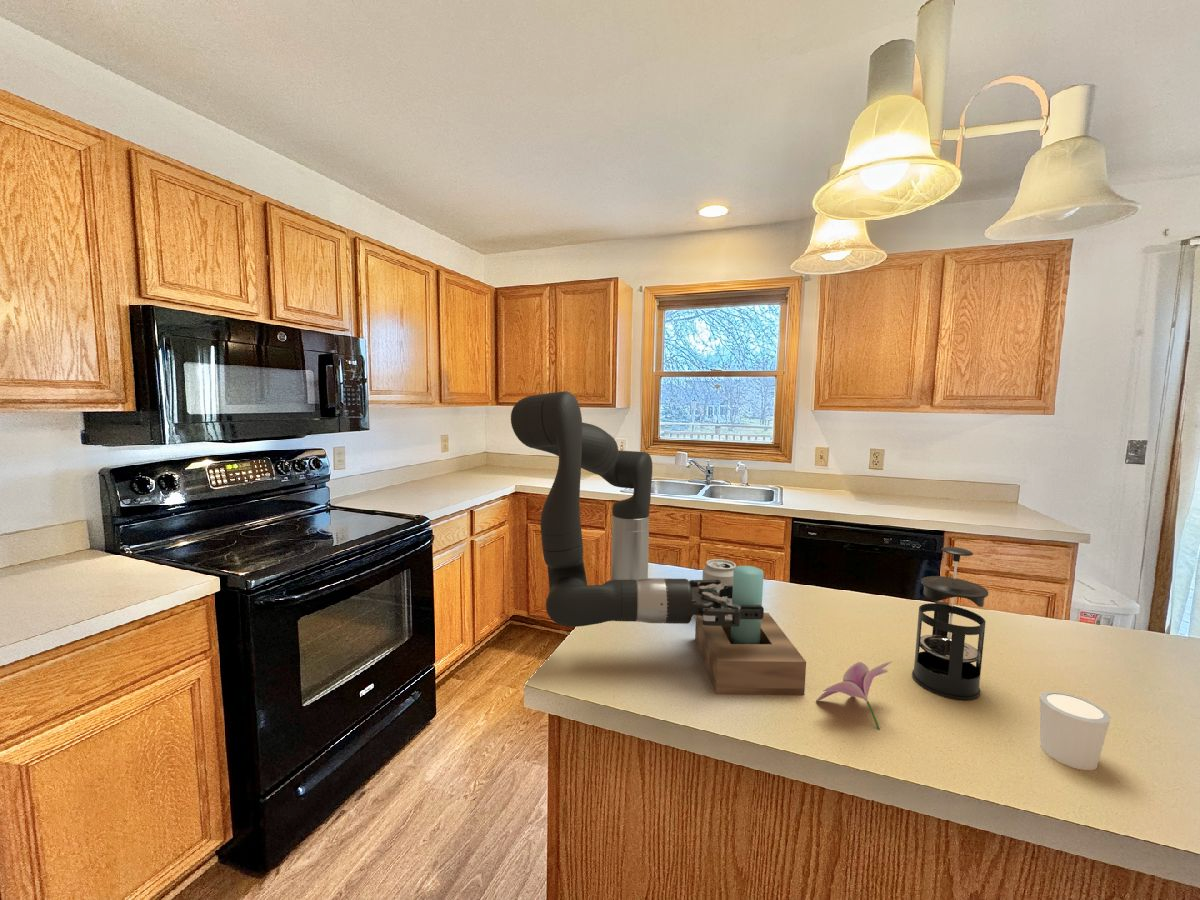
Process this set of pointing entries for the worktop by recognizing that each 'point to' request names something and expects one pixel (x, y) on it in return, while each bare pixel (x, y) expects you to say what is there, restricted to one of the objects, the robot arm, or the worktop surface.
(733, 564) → the can
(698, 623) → the well block
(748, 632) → the peg
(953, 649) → the french press
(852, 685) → the lily
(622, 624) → the worktop surface
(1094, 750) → the white cylinder
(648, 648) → the worktop surface
